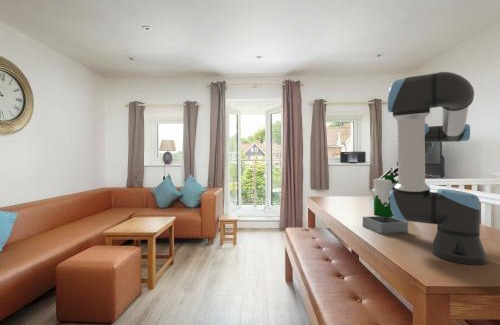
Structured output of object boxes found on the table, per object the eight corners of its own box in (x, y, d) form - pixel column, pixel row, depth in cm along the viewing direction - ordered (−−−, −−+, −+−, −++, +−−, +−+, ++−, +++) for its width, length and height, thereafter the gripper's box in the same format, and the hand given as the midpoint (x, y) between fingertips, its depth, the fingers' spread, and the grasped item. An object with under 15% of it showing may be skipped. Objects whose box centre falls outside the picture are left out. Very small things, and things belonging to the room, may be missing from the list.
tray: (407, 232, 119) (407, 222, 119) (381, 234, 117) (381, 223, 117) (386, 225, 133) (386, 215, 133) (362, 226, 131) (362, 216, 131)
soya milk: (390, 218, 119) (390, 175, 118) (371, 215, 126) (371, 175, 125) (397, 215, 124) (398, 175, 124) (378, 212, 131) (379, 174, 131)
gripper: (432, 167, 117) (402, 202, 114) (396, 166, 139) (370, 195, 136) (422, 155, 116) (391, 191, 113) (388, 156, 138) (361, 186, 135)
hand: (380, 193), depth 125 cm, fingers closed on soya milk, 9 cm apart
